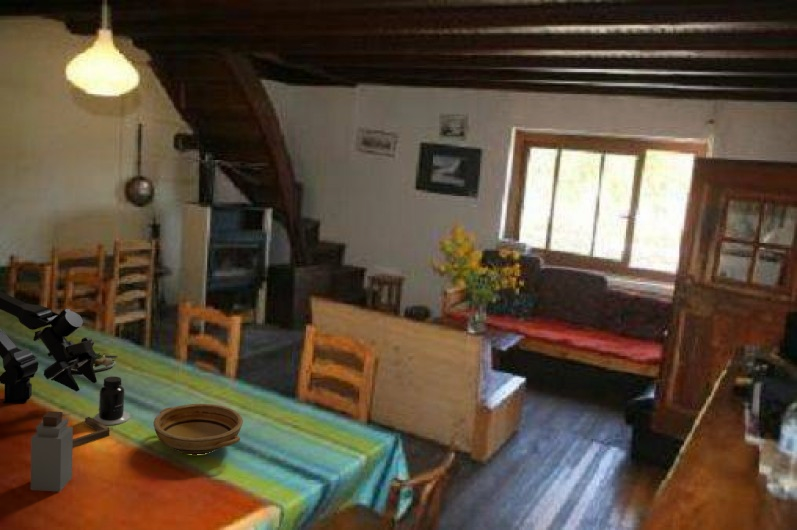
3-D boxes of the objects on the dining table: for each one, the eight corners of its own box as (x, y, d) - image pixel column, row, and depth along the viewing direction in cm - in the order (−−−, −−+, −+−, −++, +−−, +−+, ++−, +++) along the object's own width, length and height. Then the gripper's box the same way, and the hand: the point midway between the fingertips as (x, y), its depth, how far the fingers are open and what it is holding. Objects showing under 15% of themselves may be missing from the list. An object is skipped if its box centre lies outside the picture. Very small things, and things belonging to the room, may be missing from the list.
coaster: (90, 425, 190) (90, 423, 190) (97, 411, 199) (97, 409, 199) (127, 425, 192) (127, 423, 192) (132, 411, 202) (132, 410, 202)
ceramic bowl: (127, 443, 182) (128, 416, 180) (197, 418, 202) (198, 394, 201) (198, 480, 166) (199, 451, 165) (265, 449, 186) (267, 423, 185)
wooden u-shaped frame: (46, 435, 181) (47, 429, 181) (89, 422, 191) (89, 416, 191) (69, 448, 175) (69, 442, 175) (111, 434, 185) (111, 428, 185)
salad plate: (109, 354, 250) (109, 342, 249) (127, 368, 237) (127, 356, 237) (54, 361, 237) (55, 349, 236) (70, 377, 224) (71, 364, 223)
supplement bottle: (120, 421, 193) (121, 383, 191) (96, 421, 192) (97, 382, 190) (125, 412, 200) (127, 375, 197) (102, 411, 198) (103, 374, 196)
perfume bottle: (43, 475, 161) (44, 407, 158) (71, 477, 161) (73, 409, 158) (30, 490, 154) (31, 419, 151) (60, 491, 155) (61, 421, 152)
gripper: (58, 335, 186) (89, 380, 186) (94, 324, 204) (123, 364, 204) (29, 356, 187) (60, 401, 187) (68, 343, 205) (96, 384, 206)
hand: (87, 386), depth 196 cm, fingers open, 9 cm apart
